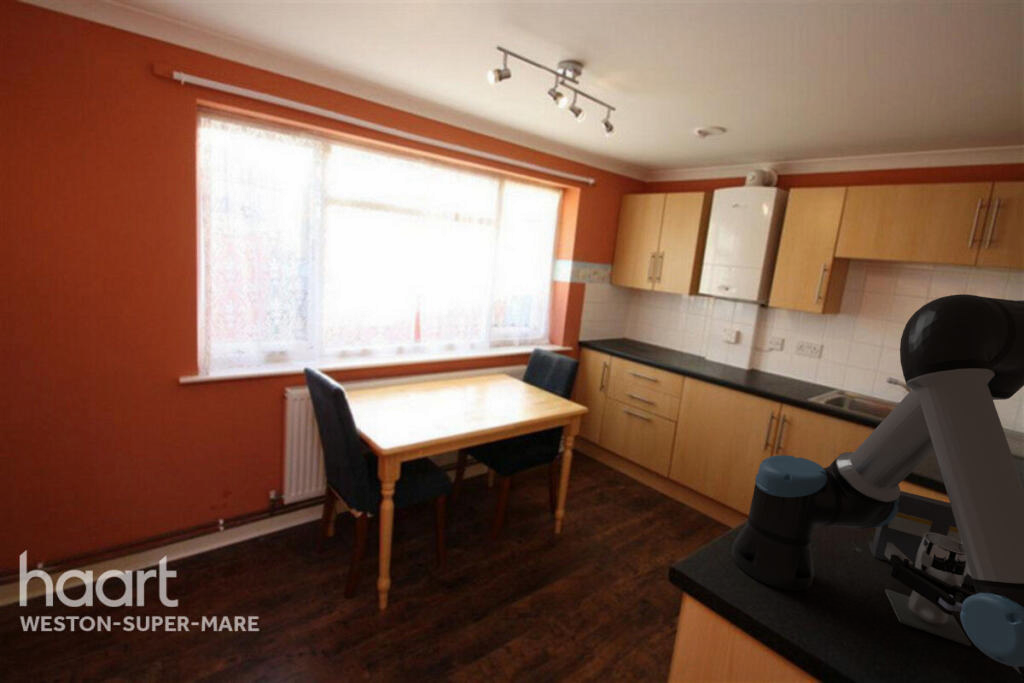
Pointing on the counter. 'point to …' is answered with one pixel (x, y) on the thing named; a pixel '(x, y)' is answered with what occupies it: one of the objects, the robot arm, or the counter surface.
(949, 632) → the rubber mat
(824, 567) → the counter surface
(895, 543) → the label panel
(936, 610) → the beer glass
